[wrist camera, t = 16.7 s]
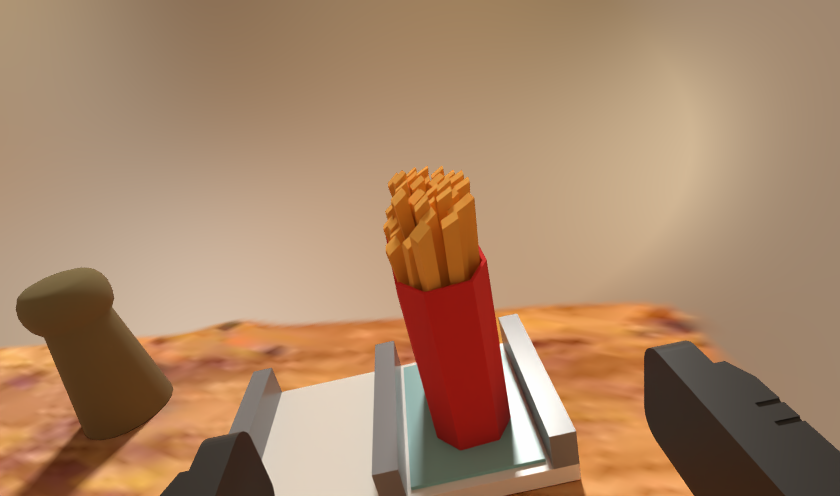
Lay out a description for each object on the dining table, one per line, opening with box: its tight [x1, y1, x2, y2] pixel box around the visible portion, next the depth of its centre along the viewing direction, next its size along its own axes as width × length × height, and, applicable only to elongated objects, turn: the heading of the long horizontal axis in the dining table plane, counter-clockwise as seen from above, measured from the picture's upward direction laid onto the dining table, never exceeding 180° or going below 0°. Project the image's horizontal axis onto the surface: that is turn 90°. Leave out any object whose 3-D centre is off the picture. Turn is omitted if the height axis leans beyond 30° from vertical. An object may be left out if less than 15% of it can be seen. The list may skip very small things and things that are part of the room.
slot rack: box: [229, 314, 581, 496], centre depth 26 cm, size 17×10×3 cm, turn 94°
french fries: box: [384, 166, 511, 451], centre depth 24 cm, size 9×4×13 cm, turn 8°
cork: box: [16, 268, 173, 440], centre depth 33 cm, size 6×6×11 cm
